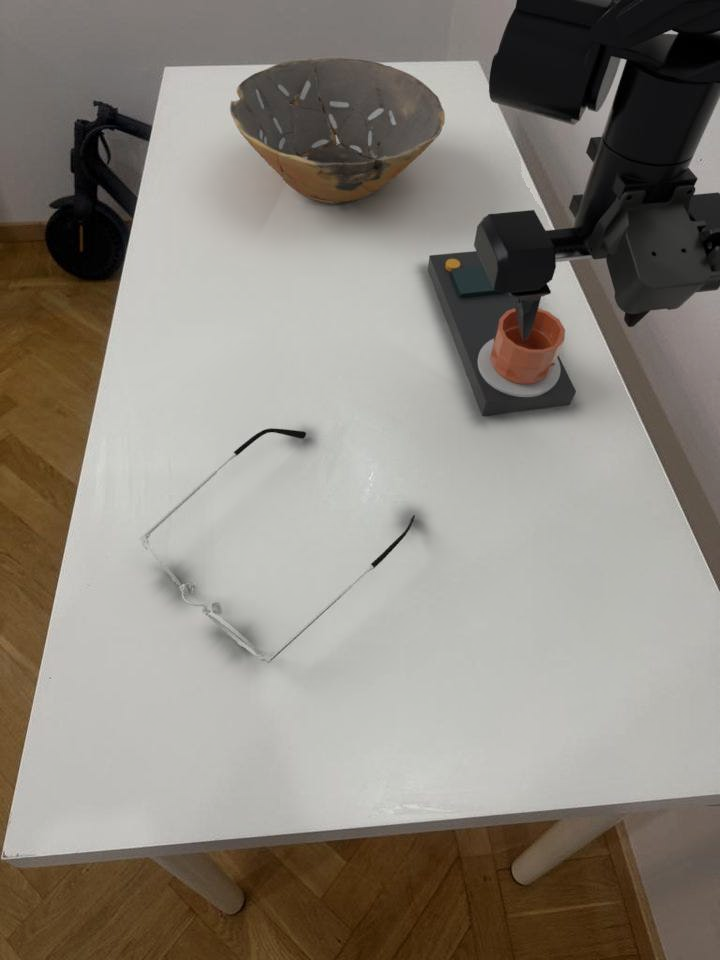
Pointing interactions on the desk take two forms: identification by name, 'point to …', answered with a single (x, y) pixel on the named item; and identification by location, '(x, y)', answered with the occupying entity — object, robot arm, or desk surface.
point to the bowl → (337, 124)
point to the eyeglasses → (215, 604)
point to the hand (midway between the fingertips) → (576, 329)
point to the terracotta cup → (526, 348)
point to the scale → (488, 337)
